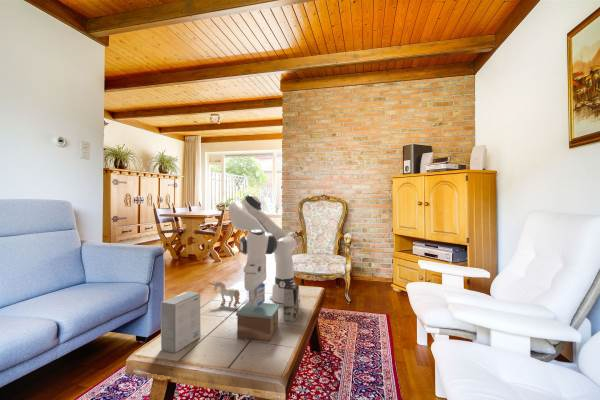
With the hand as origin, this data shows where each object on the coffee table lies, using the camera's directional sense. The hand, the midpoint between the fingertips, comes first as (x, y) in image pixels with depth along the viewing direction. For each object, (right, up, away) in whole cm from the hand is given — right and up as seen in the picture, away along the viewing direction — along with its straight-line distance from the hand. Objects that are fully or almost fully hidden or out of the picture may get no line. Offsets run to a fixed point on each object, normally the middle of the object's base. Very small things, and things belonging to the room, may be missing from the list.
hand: (256, 294), depth 135 cm
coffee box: (+16, -18, +18) cm, 30 cm away
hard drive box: (-30, -18, -11) cm, 37 cm away
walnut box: (+1, -18, 0) cm, 18 cm away
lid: (+1, -8, 0) cm, 8 cm away
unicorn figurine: (-24, -18, +34) cm, 45 cm away
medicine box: (0, -4, 0) cm, 4 cm away
